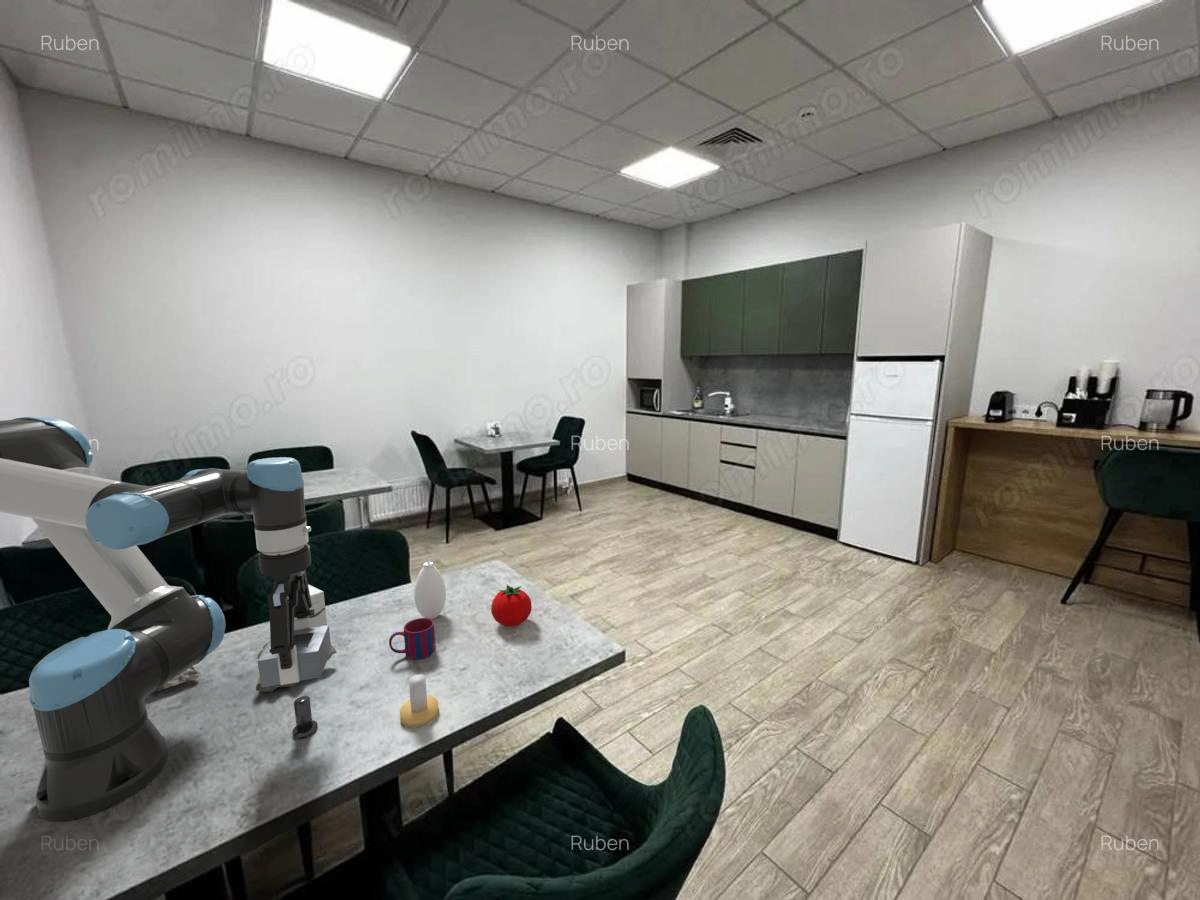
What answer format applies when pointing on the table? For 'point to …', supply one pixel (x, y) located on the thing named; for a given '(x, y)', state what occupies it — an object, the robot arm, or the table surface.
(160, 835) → the table surface
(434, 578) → the white vase
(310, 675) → the grey square bin
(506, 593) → the tomato
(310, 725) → the dark grey round-topped piece
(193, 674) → the mineral rock
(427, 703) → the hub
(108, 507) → the robot arm
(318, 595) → the ink box
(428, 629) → the mug
